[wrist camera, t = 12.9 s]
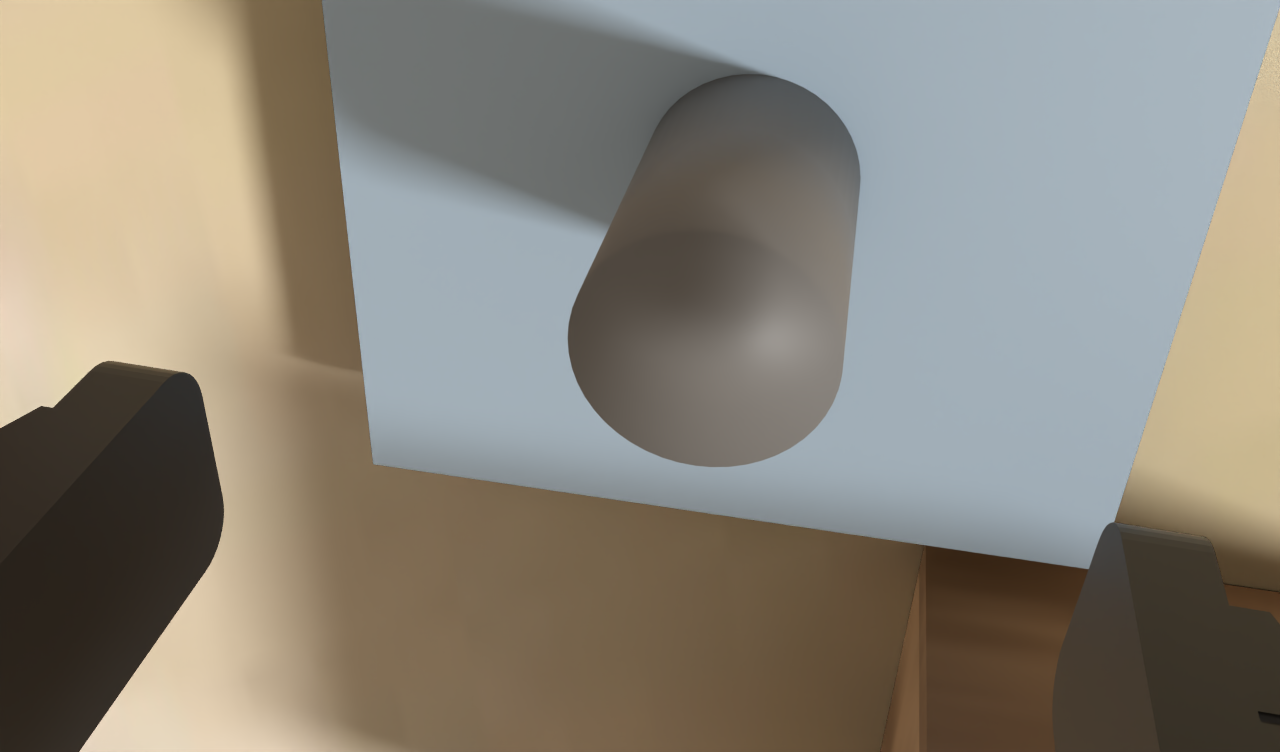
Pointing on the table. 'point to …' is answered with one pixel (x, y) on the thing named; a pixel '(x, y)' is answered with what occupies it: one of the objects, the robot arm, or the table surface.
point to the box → (990, 652)
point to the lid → (786, 248)
